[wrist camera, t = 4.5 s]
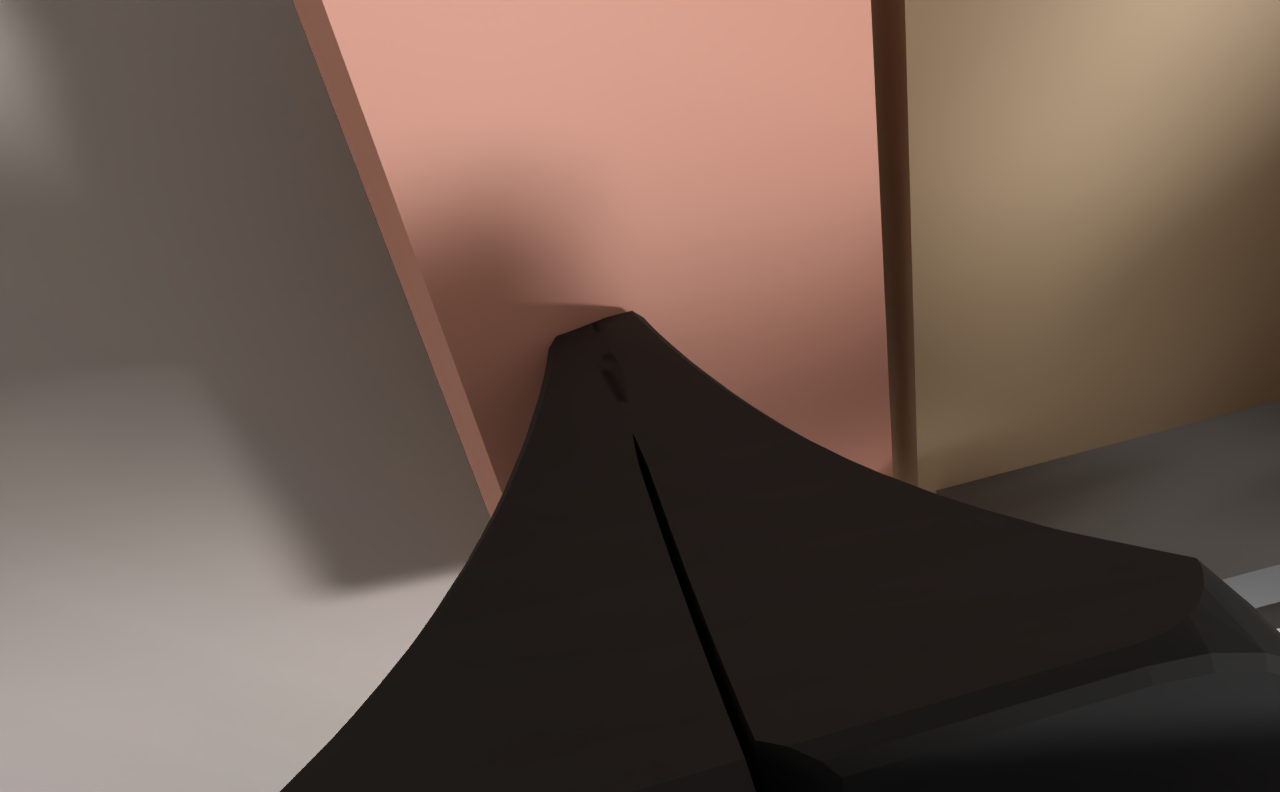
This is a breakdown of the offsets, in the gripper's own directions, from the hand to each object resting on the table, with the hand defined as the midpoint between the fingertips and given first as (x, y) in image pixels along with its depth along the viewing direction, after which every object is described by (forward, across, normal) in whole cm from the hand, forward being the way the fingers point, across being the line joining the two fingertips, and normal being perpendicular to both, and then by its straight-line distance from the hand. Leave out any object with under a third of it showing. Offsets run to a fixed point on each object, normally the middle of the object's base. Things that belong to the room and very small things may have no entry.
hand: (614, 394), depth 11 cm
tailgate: (+2, -4, 0) cm, 4 cm away
